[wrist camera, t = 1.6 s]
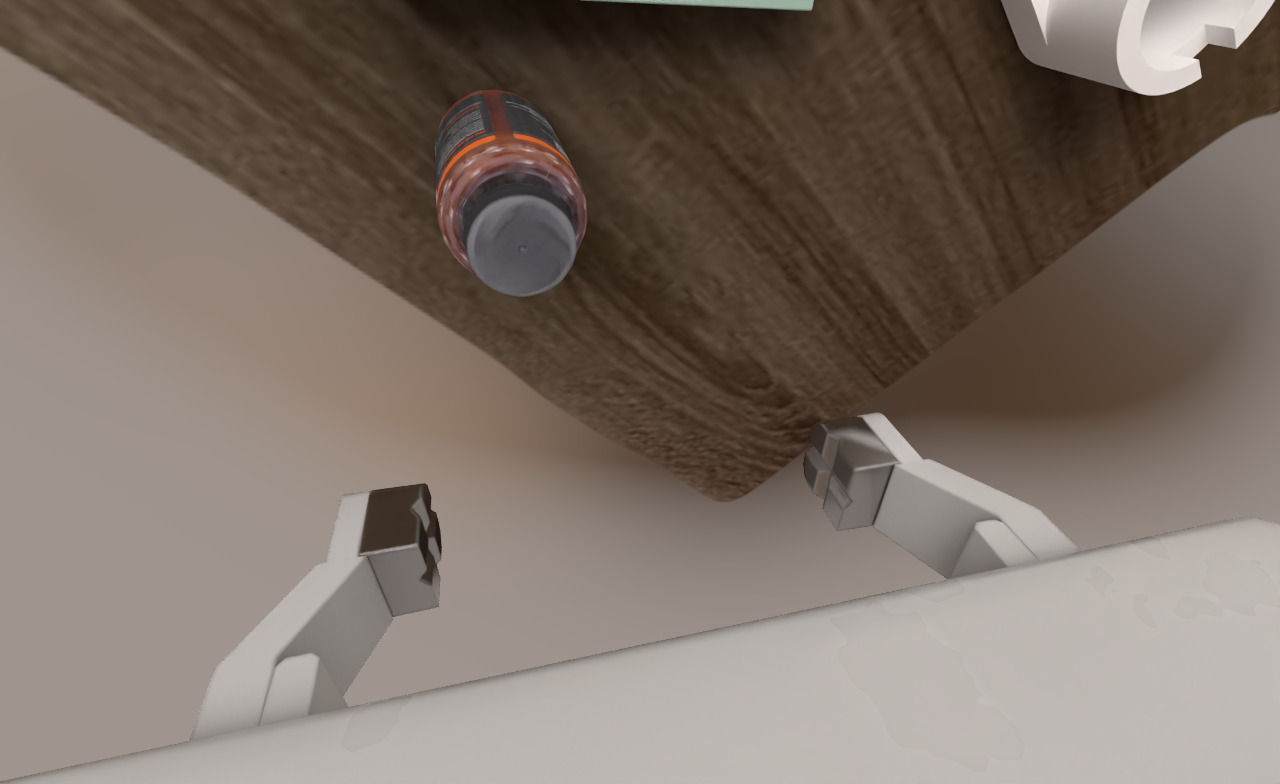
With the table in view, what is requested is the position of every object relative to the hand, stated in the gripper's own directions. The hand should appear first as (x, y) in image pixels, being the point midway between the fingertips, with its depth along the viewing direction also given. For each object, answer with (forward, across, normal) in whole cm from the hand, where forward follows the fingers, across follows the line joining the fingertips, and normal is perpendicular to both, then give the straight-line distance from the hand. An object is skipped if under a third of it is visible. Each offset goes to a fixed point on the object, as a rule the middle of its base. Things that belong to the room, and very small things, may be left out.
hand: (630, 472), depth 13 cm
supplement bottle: (+23, +2, 0) cm, 23 cm away
